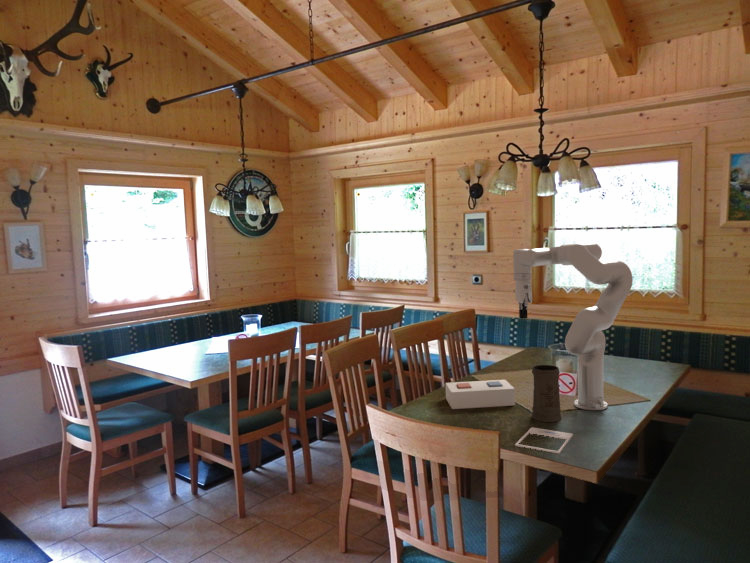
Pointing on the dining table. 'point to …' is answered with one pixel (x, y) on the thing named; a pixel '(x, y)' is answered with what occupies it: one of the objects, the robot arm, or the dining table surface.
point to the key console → (480, 395)
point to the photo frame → (546, 433)
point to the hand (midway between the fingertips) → (523, 318)
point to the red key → (463, 385)
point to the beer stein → (546, 393)
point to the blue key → (494, 384)
